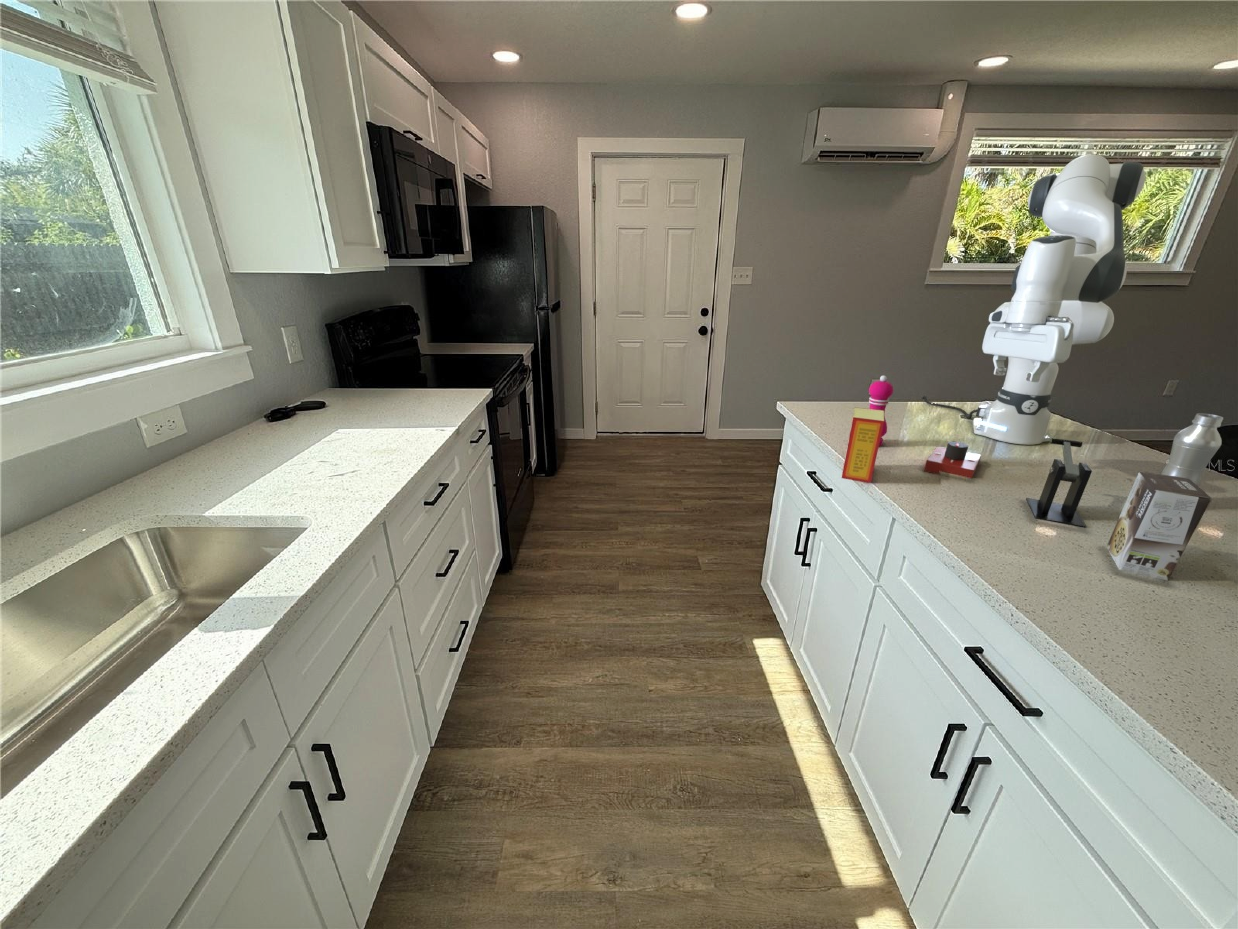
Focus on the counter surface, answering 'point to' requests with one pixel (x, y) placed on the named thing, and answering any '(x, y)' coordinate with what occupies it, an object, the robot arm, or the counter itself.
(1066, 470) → the press lever
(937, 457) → the dial panel
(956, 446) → the dial
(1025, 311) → the robot arm
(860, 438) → the baking soda box
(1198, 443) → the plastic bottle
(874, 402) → the pepper mill
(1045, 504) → the bracket
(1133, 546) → the coffee box
